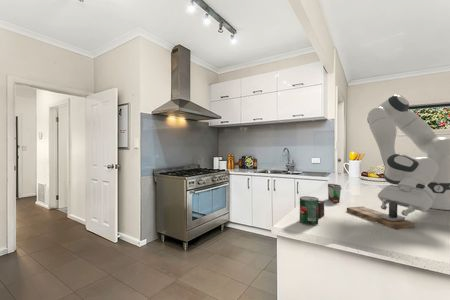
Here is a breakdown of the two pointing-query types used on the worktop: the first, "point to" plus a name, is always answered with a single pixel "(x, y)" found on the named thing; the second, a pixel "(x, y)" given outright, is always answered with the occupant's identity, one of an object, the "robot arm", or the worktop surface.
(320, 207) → the box
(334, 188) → the food container
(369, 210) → the brown wooden board
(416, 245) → the worktop surface
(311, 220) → the canned tomato
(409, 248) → the worktop surface
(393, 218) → the slider
